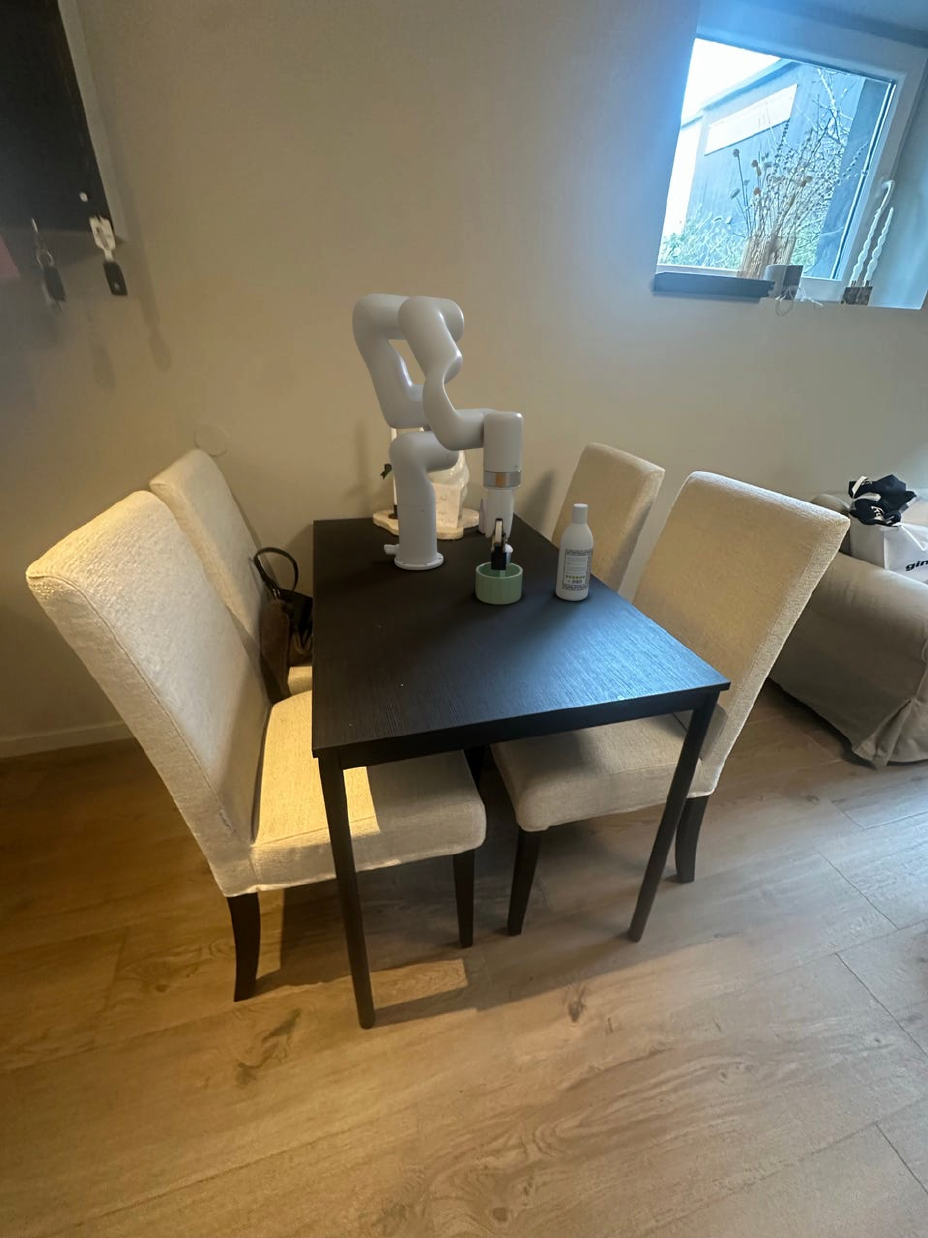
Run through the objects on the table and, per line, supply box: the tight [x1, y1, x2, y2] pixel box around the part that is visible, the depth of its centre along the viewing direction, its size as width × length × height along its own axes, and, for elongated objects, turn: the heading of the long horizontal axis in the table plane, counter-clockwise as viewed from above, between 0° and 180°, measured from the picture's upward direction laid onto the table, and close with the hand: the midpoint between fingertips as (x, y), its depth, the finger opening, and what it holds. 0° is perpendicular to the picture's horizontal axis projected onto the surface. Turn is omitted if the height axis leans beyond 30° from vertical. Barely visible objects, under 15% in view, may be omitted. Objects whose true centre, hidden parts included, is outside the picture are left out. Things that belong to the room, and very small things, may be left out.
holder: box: [475, 561, 524, 605], centre depth 109 cm, size 10×10×6 cm
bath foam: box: [555, 503, 595, 602], centre depth 105 cm, size 7×7×20 cm
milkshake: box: [488, 544, 514, 577], centre depth 107 cm, size 4×5×10 cm
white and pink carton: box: [478, 498, 487, 534], centre depth 151 cm, size 4×7×10 cm, turn 109°
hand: (499, 564), depth 107 cm, fingers closed on milkshake, 4 cm apart
